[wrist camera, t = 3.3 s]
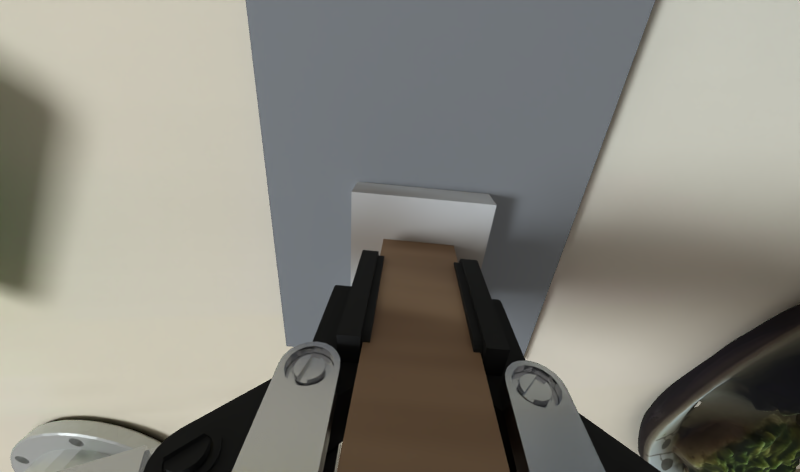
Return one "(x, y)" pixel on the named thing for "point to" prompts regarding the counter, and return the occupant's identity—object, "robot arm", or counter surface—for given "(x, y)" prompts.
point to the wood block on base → (420, 337)
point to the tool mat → (434, 126)
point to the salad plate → (733, 407)
